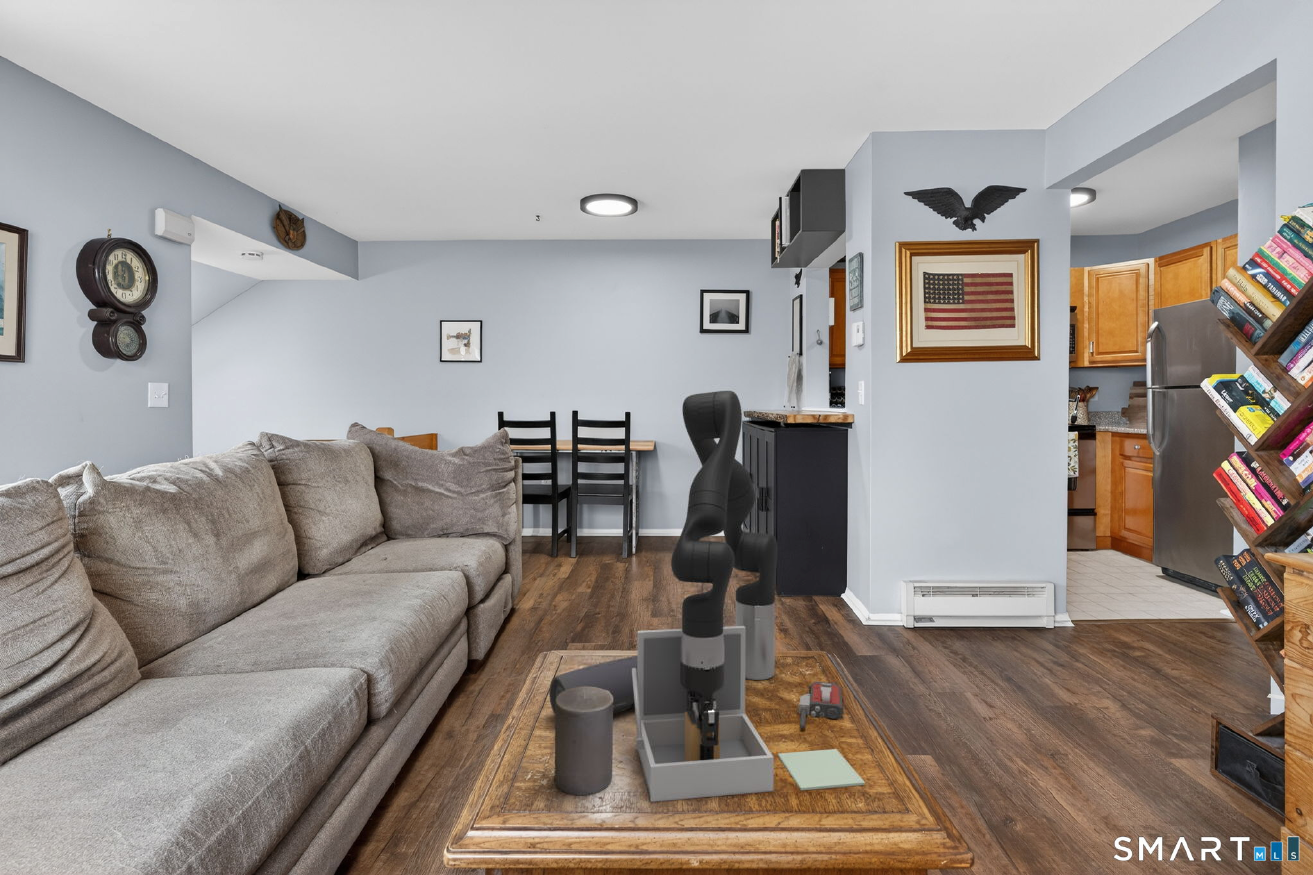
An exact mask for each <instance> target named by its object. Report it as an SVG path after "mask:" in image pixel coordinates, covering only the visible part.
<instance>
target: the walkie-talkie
mask: <svg viewBox="0 0 1313 875" xmlns="http://www.w3.org/2000/svg"><path fill="white" fill-rule="evenodd" d="M842 689H843V688H842V686H840V685H839V684H838V683H834V682H825V681H824V682H823V681H814V682H812V683H811V684H810V685H809V687H808V693H806V694H803V695H801V696H800V697H799V702H798V714H799V715H800V718H799V719H800V720H799V727H800V728H801V729H802V730H803V729H805V728H806V721H807V715H808V716H811V717H819V718H827V719H828V718H829V719H830V720H836V719H837V720H843V714H844V703H843V697H842V696H843V693H842Z"/></svg>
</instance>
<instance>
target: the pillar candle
mask: <svg viewBox="0 0 1313 875" xmlns="http://www.w3.org/2000/svg"><path fill="white" fill-rule="evenodd" d="M613 699H614V698H613V696H612V694H611V693H610V692H609V691H607V690H604V689H600V688H596V687H585V686H584V687H576V688H571V689H568V690H565V691H563V692H562V693H560V694H559V695H558V696H557V698H556V703H555V707H556V709H555V714H554V716H555V719H554V720H555V726H554V731H555V732H554V744H555V745H554V746H555V747H554V750H555V751H554V784H555V787H557V789H558V790H560V791H561V792H563V793H566V794H568V795H573V796H587V795H588V796H589V795H593V794H597V793H599V792H601V791H604V790H605V789H606V788H608V787H609V786H610V784H611V782H612V778H613V753H614V752H613V751H614V748H613V746H614V745H613V744H614V741H613V740H614V738H613V737H614V736H613V734H614V733H613V732H614V730H613V729H614V725H613V724H614V714H613Z"/></svg>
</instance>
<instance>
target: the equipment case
mask: <svg viewBox="0 0 1313 875" xmlns="http://www.w3.org/2000/svg"><path fill="white" fill-rule="evenodd" d="M681 637H682V628H672V629H652V630H649V629H647V630H637V655H636V656H637V673H636V668H633V669H632V679H633V691H634V703H633V704H634V713H635V724H636V736H635V747H636V748H635V749H636V750H637V752H638V756H639V761H640V764H641V768H642V773H643V776H644V780H645V784H646V788H647V791H648V796H649V800H650V802H651V803H652V802H653V803H654V802H663V801H675V800H676V801H677V800H684V799H685V800H687V799H697V798H698V799H699V798H700V799H701V798H709V797H710V798H711V797H722V796H731V795H745V794H755V793H757V794H758V793H764V792H765V793H766V792H767V793H768V792H774V769H775V767H774V766H775V764H774V761H775V758H774V755H773V754H772V752H771V751H770V750H769V748H768V747H767V745H766V743H765V741H764V740H763V738H762V737H761V736H760V734H759V733H758V731H757V730H756V728H755V727H754V725H753V723H752V721H751V720H750V719H749V717H748V716H747V714H746V678H745V639H746V628H745V626H736V625H733V626H723V637H724V647H725V654H724V686H723V687H722V688H721V689H720V690H717V691H716V692H714V693H713V699H714V698H715V700H716V709H718V711H719V723H720V759H713V760H700V761H688V762H686V760H685V712H687V690H686V689H685V688H683V687H682V685H681V683H680V646H681ZM716 709H715V710H716Z"/></svg>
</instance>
